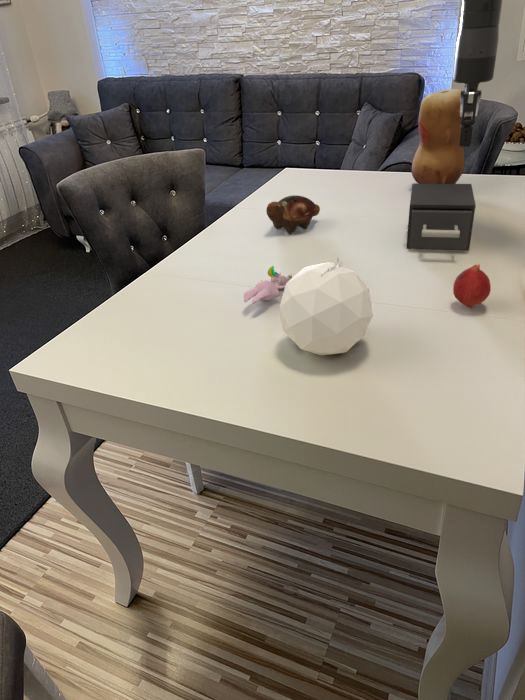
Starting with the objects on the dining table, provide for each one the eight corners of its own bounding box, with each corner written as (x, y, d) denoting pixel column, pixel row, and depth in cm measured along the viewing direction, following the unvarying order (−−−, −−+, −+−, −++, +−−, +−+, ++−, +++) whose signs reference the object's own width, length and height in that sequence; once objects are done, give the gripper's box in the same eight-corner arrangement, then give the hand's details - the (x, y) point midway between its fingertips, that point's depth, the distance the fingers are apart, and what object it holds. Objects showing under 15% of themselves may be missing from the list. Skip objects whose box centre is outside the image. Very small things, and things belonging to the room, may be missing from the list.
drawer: (468, 259, 105) (473, 220, 101) (408, 256, 108) (411, 219, 104) (463, 226, 120) (468, 191, 116) (411, 225, 123) (414, 191, 118)
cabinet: (468, 250, 111) (475, 205, 106) (406, 248, 114) (409, 204, 109) (465, 225, 122) (471, 183, 117) (408, 224, 126) (412, 183, 120)
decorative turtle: (256, 233, 128) (254, 199, 124) (301, 220, 136) (300, 188, 132) (284, 240, 121) (283, 205, 117) (329, 226, 130) (330, 192, 126)
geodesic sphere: (302, 278, 92) (282, 233, 79) (386, 287, 87) (379, 240, 74) (281, 360, 87) (256, 326, 74) (368, 374, 82) (358, 340, 70)
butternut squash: (402, 186, 150) (409, 88, 137) (447, 181, 152) (458, 83, 138) (423, 201, 139) (434, 95, 125) (472, 194, 140) (487, 90, 127)
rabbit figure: (271, 286, 106) (233, 308, 94) (271, 256, 104) (232, 276, 92) (300, 290, 104) (264, 314, 92) (301, 260, 101) (264, 281, 89)
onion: (450, 313, 90) (456, 270, 85) (450, 298, 94) (456, 255, 90) (487, 316, 88) (495, 272, 84) (486, 300, 93) (493, 257, 88)
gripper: (497, 56, 97) (484, 149, 106) (495, 49, 108) (483, 134, 117) (454, 59, 99) (444, 149, 108) (456, 51, 110) (447, 134, 119)
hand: (464, 141), depth 112 cm, fingers open, 8 cm apart
